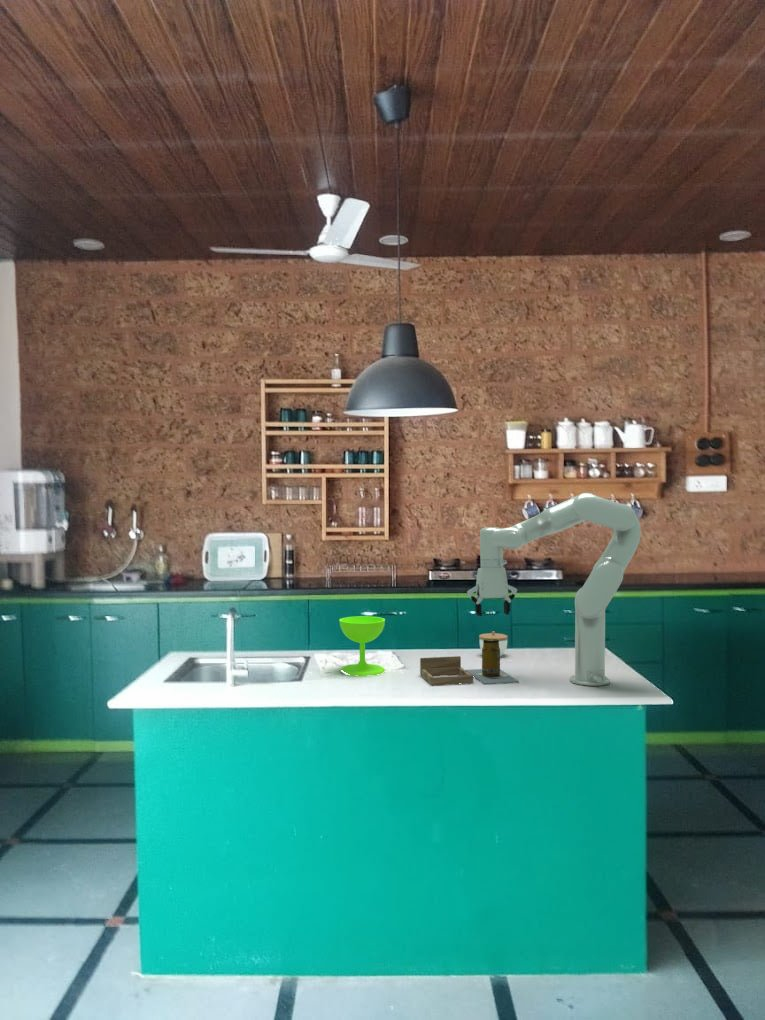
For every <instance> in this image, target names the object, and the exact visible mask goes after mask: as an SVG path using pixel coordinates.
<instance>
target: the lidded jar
mask: <svg viewBox="0 0 765 1020" xmlns="http://www.w3.org/2000/svg"><path fill="white" fill-rule="evenodd" d="M508 638H509V637H508V634H507V635H506V634H504V633H498V632H497V633H496V632H495V631H493V630H492V631H491V632H490V633H482V634H479V636H478V639H479V642H478V643H479V648H480V651H481V652H482V648H483V641H484V639H498V640H499V648H500V656H501V657H502V656H503V655H504V654H505V652H506V650H507V648H508Z"/></svg>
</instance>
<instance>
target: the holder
mask: <svg viewBox="0 0 765 1020" xmlns="http://www.w3.org/2000/svg"><path fill="white" fill-rule="evenodd" d="M461 657H462V656H459V655H456V656H436V657H435V656H434V657H420V658H419V668H420V669H419V672H420V673H419V675H421V676H422V677H423V680H425V682H426V683H428V682H429V683H430V684H431V685H436V686H446V685H445V684H455V685H460V684H459V683H473V684H474V677H473V675H471V674H470V673H468V672H467V671H466V670H467V669H464V668H463V667H461V664H462V663H461V659H462V658H461ZM456 674H459V675H460V676H459V675H456ZM440 675H448V676H440ZM421 676H420V677H421ZM422 677H421V678H422ZM429 683H428V684H429ZM430 684H429V685H430ZM431 685H430V686H431Z"/></svg>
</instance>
